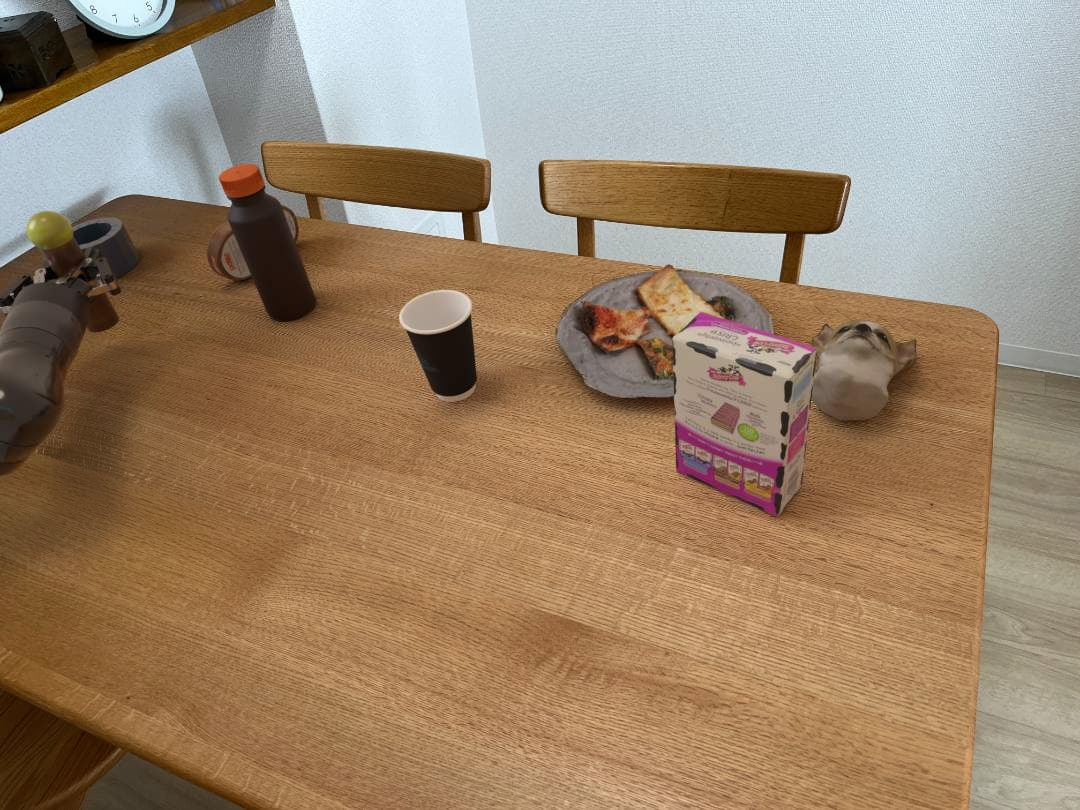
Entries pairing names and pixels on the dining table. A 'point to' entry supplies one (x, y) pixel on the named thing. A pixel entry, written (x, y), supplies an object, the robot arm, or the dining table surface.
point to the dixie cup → (443, 341)
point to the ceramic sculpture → (857, 368)
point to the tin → (236, 249)
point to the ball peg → (67, 260)
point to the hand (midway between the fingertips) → (75, 257)
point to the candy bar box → (742, 409)
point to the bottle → (267, 244)
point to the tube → (108, 242)
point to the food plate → (646, 327)
